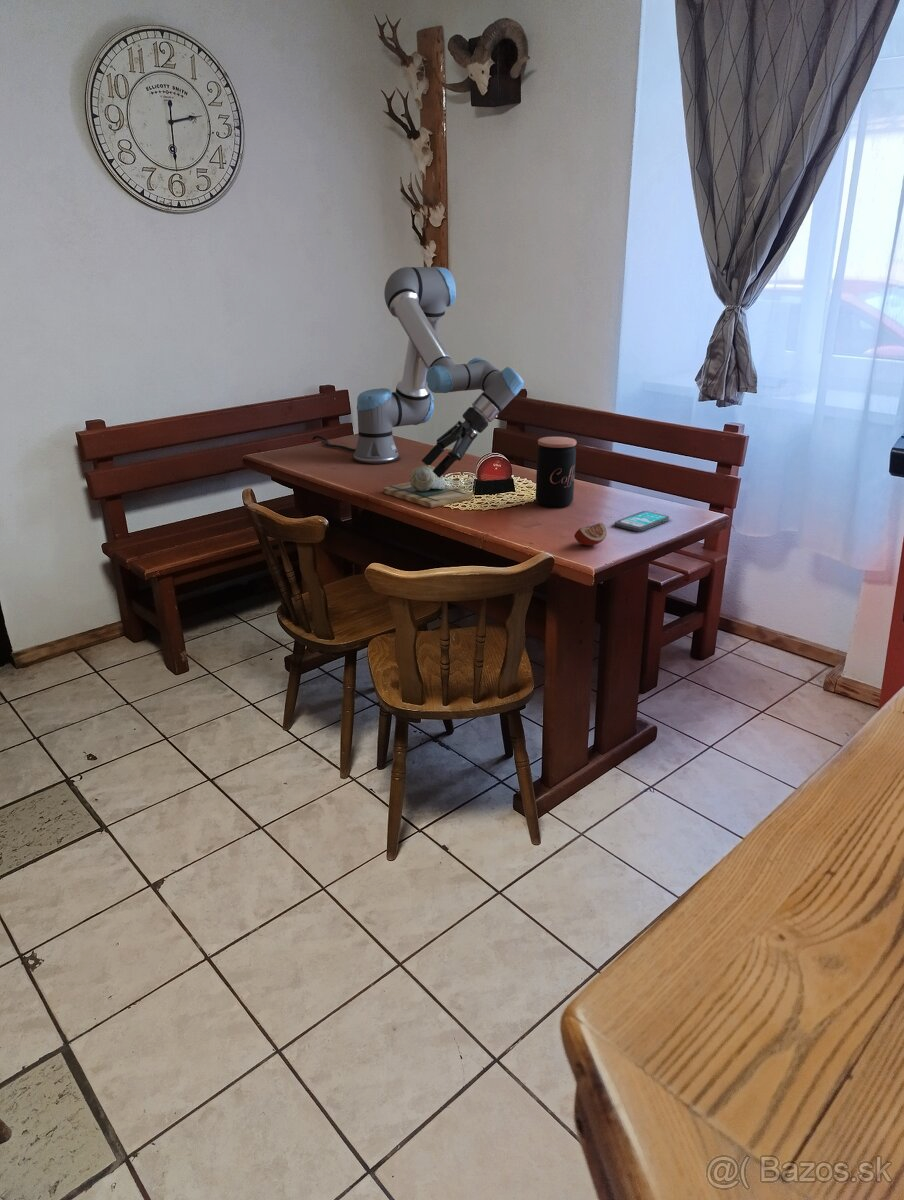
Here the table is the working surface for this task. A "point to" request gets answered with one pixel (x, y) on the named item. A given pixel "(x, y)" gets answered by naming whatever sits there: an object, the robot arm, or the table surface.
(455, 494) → the board
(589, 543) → the fruit slice
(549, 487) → the coffee jar
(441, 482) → the seashell
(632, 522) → the smartphone
